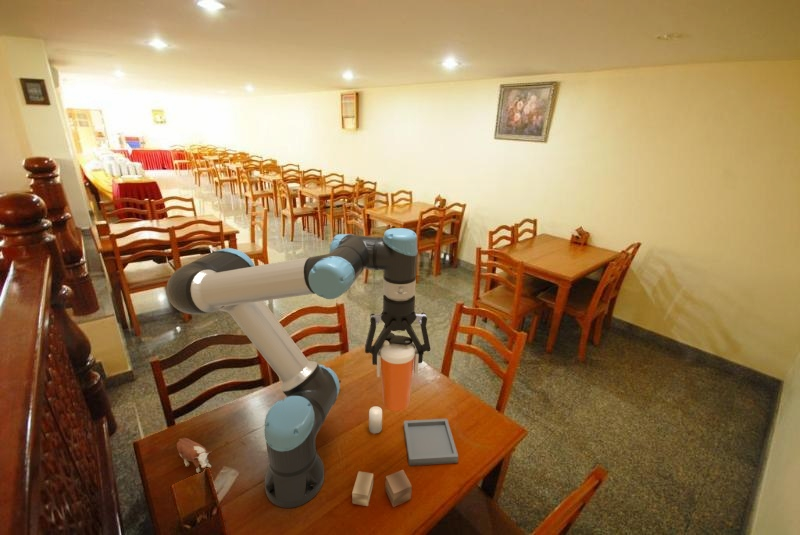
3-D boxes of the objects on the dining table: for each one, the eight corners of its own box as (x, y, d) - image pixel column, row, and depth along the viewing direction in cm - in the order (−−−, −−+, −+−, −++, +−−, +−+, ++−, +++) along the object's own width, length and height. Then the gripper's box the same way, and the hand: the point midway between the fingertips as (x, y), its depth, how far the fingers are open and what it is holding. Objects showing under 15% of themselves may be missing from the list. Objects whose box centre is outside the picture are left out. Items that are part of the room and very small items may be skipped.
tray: (409, 465, 99) (409, 459, 98) (403, 426, 112) (403, 420, 111) (457, 462, 101) (458, 456, 100) (446, 424, 114) (447, 418, 113)
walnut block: (393, 507, 88) (393, 493, 86) (385, 490, 92) (385, 476, 91) (410, 499, 90) (411, 485, 88) (402, 482, 94) (403, 469, 93)
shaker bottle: (409, 417, 89) (412, 351, 82) (375, 411, 91) (375, 345, 84) (415, 393, 97) (418, 331, 90) (384, 388, 99) (385, 326, 92)
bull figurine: (204, 485, 91) (199, 463, 88) (176, 460, 98) (171, 438, 95) (220, 472, 95) (215, 450, 92) (192, 449, 101) (187, 427, 98)
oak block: (352, 503, 89) (352, 492, 87) (358, 481, 94) (358, 471, 93) (367, 506, 88) (367, 495, 87) (373, 484, 94) (373, 473, 92)
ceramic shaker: (369, 433, 109) (369, 416, 106) (368, 423, 113) (369, 406, 110) (382, 433, 109) (382, 415, 107) (381, 423, 113) (381, 406, 111)
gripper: (352, 302, 78) (354, 384, 86) (447, 301, 80) (441, 381, 88) (353, 288, 85) (355, 365, 93) (441, 287, 87) (435, 362, 95)
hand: (396, 373), depth 91 cm, fingers closed on shaker bottle, 9 cm apart
